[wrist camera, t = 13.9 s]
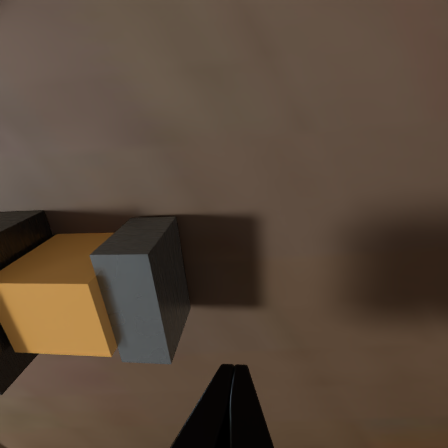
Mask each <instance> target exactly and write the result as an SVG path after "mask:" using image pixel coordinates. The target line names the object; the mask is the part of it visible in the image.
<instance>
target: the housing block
mask: <svg viewBox="0 0 448 448" xmlns="http://www.w3.org/2000/svg"><path fill="white" fill-rule="evenodd" d="M113 234H114V233H76V234H57V235H55V236H53V237H52V238H50V239H49V240H47V241H46V242H44V243H43V244H41V245H39V246H38V247H36V248H35V249H33V250H32V251H30V252H28V253H27V254H25V255H24V256H22V257H21V258H19V259H18V260H16V261H14V262H13V263H11V264H10V265H8V266H7V267H5V268H3V269H2V270H0V323H1V325H2V327H3V329H4V331H5V333H6V335H7V337H8V339H9V341H10V343H11V345H12V347H13V349H14V351H15V352H19V353H40V354H61V355H82V356H104V357H112V355H113V353H114V352H115V350H116V348H117V343H116V340H115V337H114V333H113V330H112V327H111V324H110V320H109V317H108V314H107V311H106V307H105V304H104V301H103V298H102V294H101V291H100V288H99V285H98V281H97V278H96V275H95V272H94V268H93V265H92V262H91V259H90V254H91V253H92V252H93V251H94V250H96V249H97V248H98V247H99V246H100V245H101V244H102V243H104V242H105V241H106V240H107V239H108V238H109V237H110V236H111V235H113Z"/></svg>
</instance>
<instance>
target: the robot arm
mask: <svg viewBox="0 0 448 448" xmlns="http://www.w3.org/2000/svg"><path fill="white" fill-rule="evenodd" d="M170 448H274V446H273V443H272V440H271V437H270V434H269V431H268V427H267V424H266V421H265V418H264V415H263V412H262V409H261V406H260V403H259V400H258V397H257V393H256V390H255V387H254V384H253V381H252V378H251V375H250V372H249V369H248V366H247V365H239V364H237V365H235V366H234V365H233V364H222V365H221V366H220V367H219V369H218V371H217V372H216V374H215V375H214V377H213V379H212V380H211V382H210V383H209V385H208V387H207V388H206V390H205V392H204V393H203V395H202V396H201V398H200V400H199V401H198V403H197V405H196V406H195V408H194V409H193V411H192V413H191V414H190V416H189V418H188V419H187V421H186V422H185V424H184V426H183V427H182V429H181V431H180V432H179V434H178V435H177V437H176V439H175V440H174V442H173V443H172V445H171V447H170Z"/></svg>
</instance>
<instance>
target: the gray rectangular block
mask: <svg viewBox="0 0 448 448" xmlns="http://www.w3.org/2000/svg"><path fill="white" fill-rule="evenodd" d="M90 259H91V262H92V265H93V268H94V272H95V275H96V278H97V281H98V285H99V288H100V291H101V294H102V298H103V301H104V304H105V307H106V311H107V314H108V317H109V320H110V324H111V327H112V330H113V333H114V337H115V340H116V343H117V347H118V350H119V353H120V356H121V360H122V362H136V363H157V364H171V363H172V360H173V358H174V355H175V352H176V349H177V346H178V343H179V340H180V337H181V334H182V331H183V328H184V326H185V323H186V320H187V317H188V314H189V311H190V301H189V295H188V289H187V283H186V276H185V270H184V264H183V257H182V251H181V245H180V238H179V232H178V226H177V219H176V217H148V218H131V219H130V220H128V221H127V222H126V223H125V224H124V225H123V226H122V227H120V228H119V229H118V230H117V231H116V232H115V233H114V234H113V235H111V236H110V237H109V238H108V239H107V240H106V241H105V242H104V243H102V244H101V245H100V246H99V247H98V248H97V249H96V250H94V251H93V252H92V253H91V254H90Z"/></svg>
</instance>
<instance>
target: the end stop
mask: <svg viewBox="0 0 448 448" xmlns="http://www.w3.org/2000/svg"><path fill="white" fill-rule="evenodd" d="M52 237H53V236H52V233H51V231H50V228H49V225H48V222H47V219H46V216H45V214H44V211H17V212H0V270H2V269H3V268H5V267H7V266H8V265H10V264H11V263H13V262H14V261H16V260H18V259H19V258H21V257H22V256H24V255H25V254H27V253H28V252H30V251H32V250H33V249H35V248H36V247H38V246H39V245H41V244H43V243H44V242H46V241H47V240H49V239H50V238H52ZM38 354H39V353H19V352H15V351H14V349H13V347H12V345H11V343H10V341H9V339H8V337H7V335H6V333H5V331H4V329H3V327H2V325H1V323H0V395H2V394H3V393H4V392H5V391H6V390H7V389H8V387H9V386H10V385H11V384H12V383H13V382H14V381H15V380H16V378H17V377H18V376H19V375H20V374H21V373H22V372H23V371H24V369H25V368H26V367H27V366H28V365H29V364H30V363H31V362H32V360H33V359H34V358H35V357H36V356H37V355H38Z"/></svg>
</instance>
